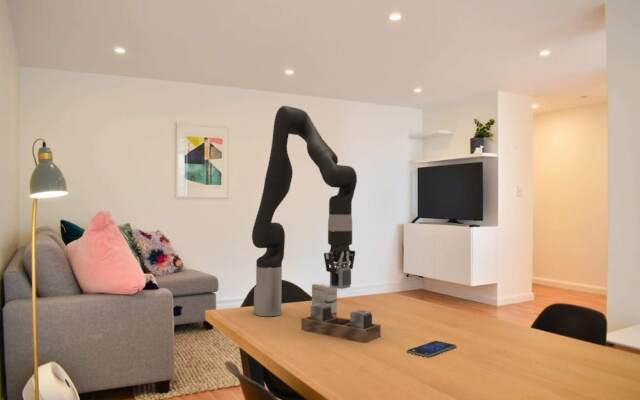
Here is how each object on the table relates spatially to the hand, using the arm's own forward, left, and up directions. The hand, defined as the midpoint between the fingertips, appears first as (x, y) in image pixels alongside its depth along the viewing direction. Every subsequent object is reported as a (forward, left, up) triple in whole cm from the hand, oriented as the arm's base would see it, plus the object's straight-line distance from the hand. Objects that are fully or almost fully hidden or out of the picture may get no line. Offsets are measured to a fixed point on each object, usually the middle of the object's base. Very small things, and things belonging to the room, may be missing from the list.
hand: (339, 284), depth 145 cm
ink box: (-15, +13, -15) cm, 25 cm away
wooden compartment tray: (0, 0, -15) cm, 15 cm away
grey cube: (0, 0, -1) cm, 1 cm away
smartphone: (+30, +2, -16) cm, 33 cm away
